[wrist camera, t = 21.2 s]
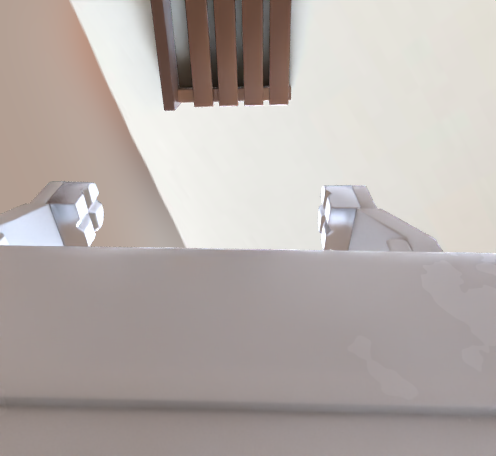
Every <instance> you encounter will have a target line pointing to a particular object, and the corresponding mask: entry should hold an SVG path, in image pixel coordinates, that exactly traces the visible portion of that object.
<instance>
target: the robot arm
mask: <svg viewBox="0 0 496 456" xmlns="http://www.w3.org/2000/svg"><path fill="white" fill-rule="evenodd" d="M98 194H99V192H98V189H97V186H96V184H95V183H93V182H65V181H52V182H49V183H48V184H47V185H46V186H45V187H44V188H43V190H42V191H41V192H40V193H39V194H38V195H37V196H36V197H35V198H34V199H33V200H32V201H31V202H30V204H23V205H21V206H18V207H16V208H13V209H11V210H9V211H6V212H4V213H1V214H0V456H496V253H467V252H443V250H442V249H441V247H440V246H439V244H438V242H437V241H436V239H435V238H433V237H431V236H429V235H428V234H426V233H424V232H422V231H420V230H419V229H417V228H415V227H413V226H411V225H410V224H408V223H406V222H404V221H402V220H401V219H399V218H397V217H395V216H393V215H392V214H390V213H388V212H386V211H385V210H383V209H377V207H376V205H375V203H374V201H373V199H372V197H371V195H370V193H369V191H368V189H367V186H365V185H353V186H352V185H334V186H322V190H321V196H320V197H321V201H322V205H321V206H320V207H319V212H318V228H319V232H320V233H321V234H322V237H321V241H322V246H323V250H273V249H209V248H148V247H146V248H144V247H89V246H90V245H91V243H92V241H93V240H94V238H95V233H94V232H95V231H96V230H98V229H100V227H101V225H102V223H103V217H104V213H103V207H102V204H101V203H100V202H99V201H98V200H97V199H96V198H97V196H98Z"/></svg>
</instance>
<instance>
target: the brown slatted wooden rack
mask: <svg viewBox="0 0 496 456" xmlns="http://www.w3.org/2000/svg"><path fill="white" fill-rule="evenodd" d="M213 2H214V19H215V37H216V55H217V73H218V87H213V85H212V69H211V53H210V38H209V22H208V6H207V0H185V5H186V16H187V28H188V39H189V50H190V62H191V73H192V85H193V88H179V79H178V69H177V60H176V50H175V40H174V31H173V21H172V11H171V2H170V0H151V8H152V16H153V24H154V32H155V40H156V48H157V56H158V64H159V72H160V80H161V88H162V96H163V104H164V110H165V111H174V110H176V108H177V107H178V106H179V105H180V104H181V103H182V102H194V107H213V105H214V102H219V106H238V101H244V106H263V101H269V105H288V100H291V86H290V85H289V62H290V27H291V0H270V36H269V86H263V0H242V32H243V71H244V86H242V87H238V79H237V49H236V18H235V0H213Z"/></svg>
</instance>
